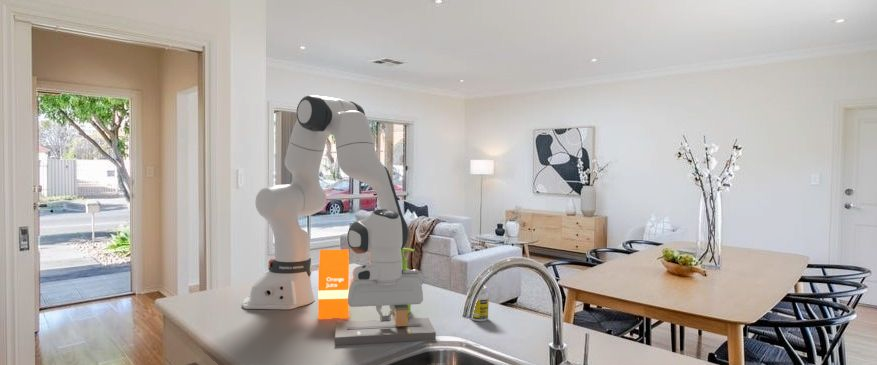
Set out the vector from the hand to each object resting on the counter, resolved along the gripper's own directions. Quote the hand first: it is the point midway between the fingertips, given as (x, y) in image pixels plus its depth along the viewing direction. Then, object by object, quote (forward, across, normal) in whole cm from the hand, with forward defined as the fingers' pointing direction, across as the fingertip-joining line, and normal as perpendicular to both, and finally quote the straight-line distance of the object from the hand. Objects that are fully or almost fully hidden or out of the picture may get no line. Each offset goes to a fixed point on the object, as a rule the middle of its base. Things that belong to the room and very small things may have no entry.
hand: (385, 321), depth 131 cm
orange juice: (+4, +14, -19) cm, 24 cm away
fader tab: (+1, -4, 0) cm, 4 cm away
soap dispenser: (+4, -7, -19) cm, 21 cm away
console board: (+4, 0, 0) cm, 4 cm away
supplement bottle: (+4, -29, -9) cm, 31 cm away
